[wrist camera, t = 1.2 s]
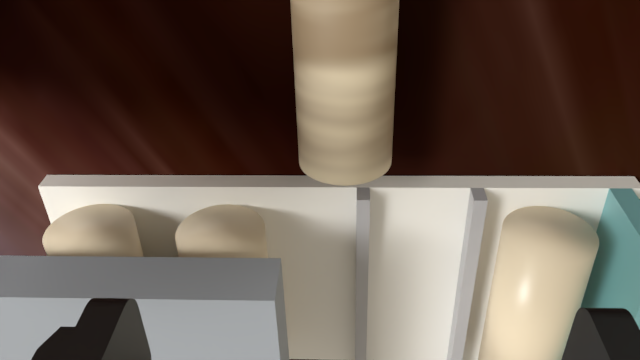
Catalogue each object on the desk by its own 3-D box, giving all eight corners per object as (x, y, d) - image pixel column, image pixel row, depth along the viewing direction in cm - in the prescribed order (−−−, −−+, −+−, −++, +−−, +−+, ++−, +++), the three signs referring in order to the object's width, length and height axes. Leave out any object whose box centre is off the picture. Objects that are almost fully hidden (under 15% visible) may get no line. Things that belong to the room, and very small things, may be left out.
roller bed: (47, 174, 29) (-17, 256, 24) (634, 176, 28) (696, 262, 23) (103, 342, 36) (62, 432, 31) (578, 350, 34) (617, 446, 29)
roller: (304, -102, 22) (269, -82, 19) (411, -101, 21) (393, -79, 18) (313, 132, 28) (287, 178, 25) (398, 141, 27) (382, 191, 24)
